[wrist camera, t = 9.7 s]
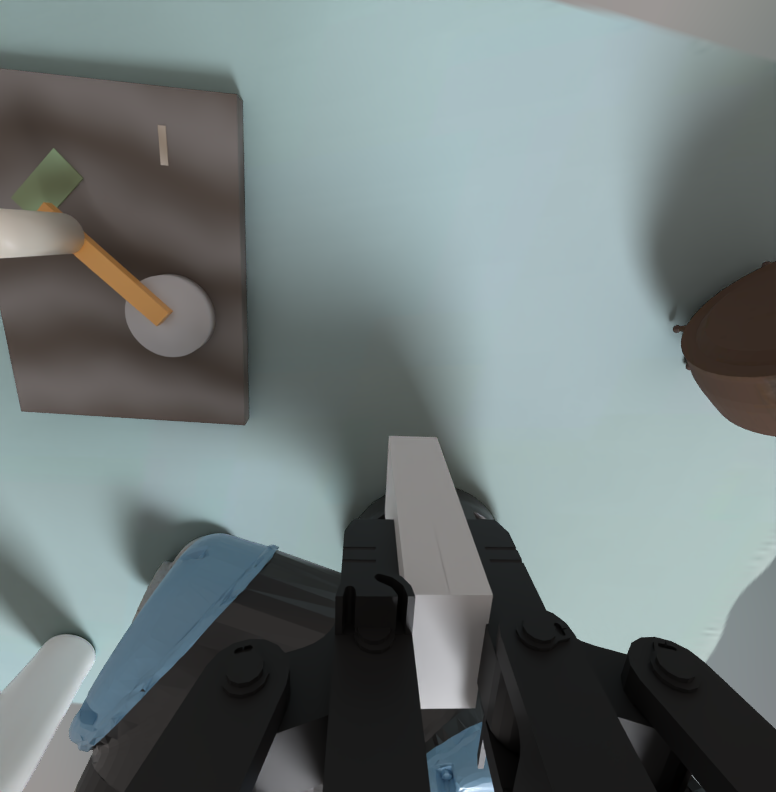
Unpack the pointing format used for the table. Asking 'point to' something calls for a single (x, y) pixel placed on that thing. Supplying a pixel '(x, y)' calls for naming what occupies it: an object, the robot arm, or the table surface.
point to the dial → (117, 280)
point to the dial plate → (124, 243)
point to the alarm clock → (737, 350)
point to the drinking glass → (39, 705)
